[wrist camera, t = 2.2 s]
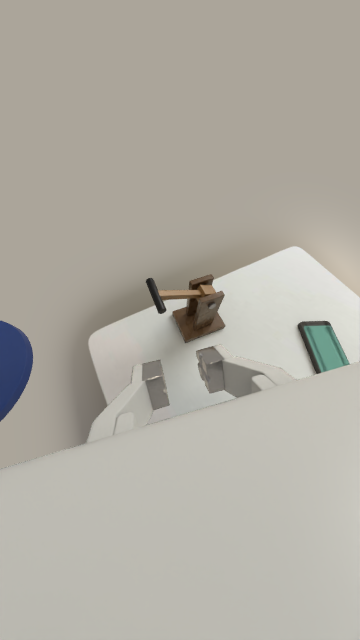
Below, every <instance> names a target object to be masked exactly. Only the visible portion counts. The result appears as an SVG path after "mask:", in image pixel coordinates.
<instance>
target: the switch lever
mask: <svg viewBox="0 0 360 640" xmlns="http://www.w3.org/2000/svg"><path fill="white" fill-rule="evenodd" d="M146 283H147V285H148V288H149V291H150V293H151V296H152V298H153V301H154V303H155V305H156V308H157V310H158V313H159V314H162V313H164V312H166V308H165V305H164V303H163V301H162V300H169V299H190V298H196V299H197V301H198V302H199V298H202V297H205V296H208V295H211V294H214V293H216V292H215V290H214V288H213V287H212V285H200V286H199V287H198V289H197V290H158V289H157V287H156V285H155V283H154V280H153V279H152V278H148V279H147V280H146Z"/></svg>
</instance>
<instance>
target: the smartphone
mask: <svg viewBox="0 0 360 640" xmlns="http://www.w3.org/2000/svg"><path fill="white" fill-rule="evenodd" d="M298 326H299V329H300V332H301V334H302V337H303V339H304V342H305V344H306V347H307V350H308V352H309V355H310V357H311V360H312V363H313V365H314V368H315V370H316V373H317V374H319V373H322V372H326V371H329V370H332V369H336V368H339V367H342V366H346V365H349V361H348V359H347V357H346V355H345V353H344V351H343V349H342V347H341V345H340V343H339V341H338V339H337V337H336V335H335V333H334V330H333V328H332V326H331V324H330V323H329V322H328V321H309V322H301V323H299V324H298Z"/></svg>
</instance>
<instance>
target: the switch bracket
mask: <svg viewBox="0 0 360 640" xmlns="http://www.w3.org/2000/svg"><path fill="white" fill-rule="evenodd" d="M213 279H214V277H213V276H212V275H207V276H204V277H201V278H197V279H194V280H191V281H190V282H189V290H197V289H198V287H199V286H200V285H212V282H213ZM223 298H224V293H223V291H220V292H217V293H214V294H211V295H208V296H205V297H202V298H199V302H198V301H197V299H196V298H190V299H187V307H185V308H182V309H179V310H176V311H173V316H174V318H175V321H176V323H177V325H178V327H179V329H180V332H181V334H182V336H183V338H184V341H185V343H186V342H189V341H191V340H194V339H196V338H199V337H202V336H204V335H207V334H209V333H212V332H214V331H217V330H220V329H222V328H224V327H225V324H224V323H223V321H222V319H221V317H220V316H219V314H218V312H217V311H218V309H219V307H220V304H221V302H222V300H223Z"/></svg>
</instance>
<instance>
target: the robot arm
mask: <svg viewBox="0 0 360 640" xmlns="http://www.w3.org/2000/svg"><path fill="white" fill-rule="evenodd" d="M196 356H197V359H198V361H199V363H198V368H199V373H200V376H201V378H202V380H204V381H205V386H206V388H207V389H208V391H209V393H214V392H218V391H222V390H225V391H227V392H228V393H230V394H232V395H233V396H235V397H237V398H236V399H232V400H229V401H226V402H222V403H219V404H216V405H212V406H209V407H206V408H202V409H199V410H196V411H192V412H189V413H185V414H182V415H179V416H175V417H172V418H169V419H165V420H162V421H159V422H155V423H152V424H149V425H147V424H148V422H149V420H150V417H151V415H152V413H153V410H156V409H159V408H162V407H165V406H169V405H170V404H169V399H168V394H167V388H166V383H165V378H164V373H163V370H162V365H161V361H160V360H157V361H152V362H148V363H143V364H139V365H135V366H133V370H132V378H131V384H129V385H127V386H126V388H125V389H124V390H123V391H122V392H121V393H120V394H119V395H118V396H117V397H116V398H115V399H114V400H113V401H112V402H111V403H110V404H109V405H108V406H107V408H105V410H104V411H103V412H102V413H101V414H100V415H99V416H98V417H97V418H96V419H95V420H94V421H93V424H92V426H91V429H90V432H89V435H88V438H87V441H86V443H85V444H82V445H79V446H75V447H72V448H69V449H65V450H62V451H59V452H55V453H52V454H49V455H46V456H42V457H39V458H35V459H32V460H29V461H25V462H22V463H19V464H15V465H12V466H9V467H5V468H2V469H0V640H360V361H359V362H356V363H353V364H349V365H346V366H342V367H339V368H336V369H332V370H329V371H326V372H322V373H319V374H316V375H312V376H309V377H306V378H302V379H299V380H296V379H295V378H294V377H292V376H291V375H290V374H288V373H287V372H286V371H284V370H283V369H281V368H279V367H275V366H271V365H267V364H264V363H260V362H256V361H252V360H249V359H245V358H241V357H237V356H236V357H234V356H233V355H232V354H231V353H230V352H229V351H228V350H227V349H226V348H225V347H223V346H222V345H221V344H219V345H216V346H212V347H208V348H205V349H201V350H197V351H196Z"/></svg>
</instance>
